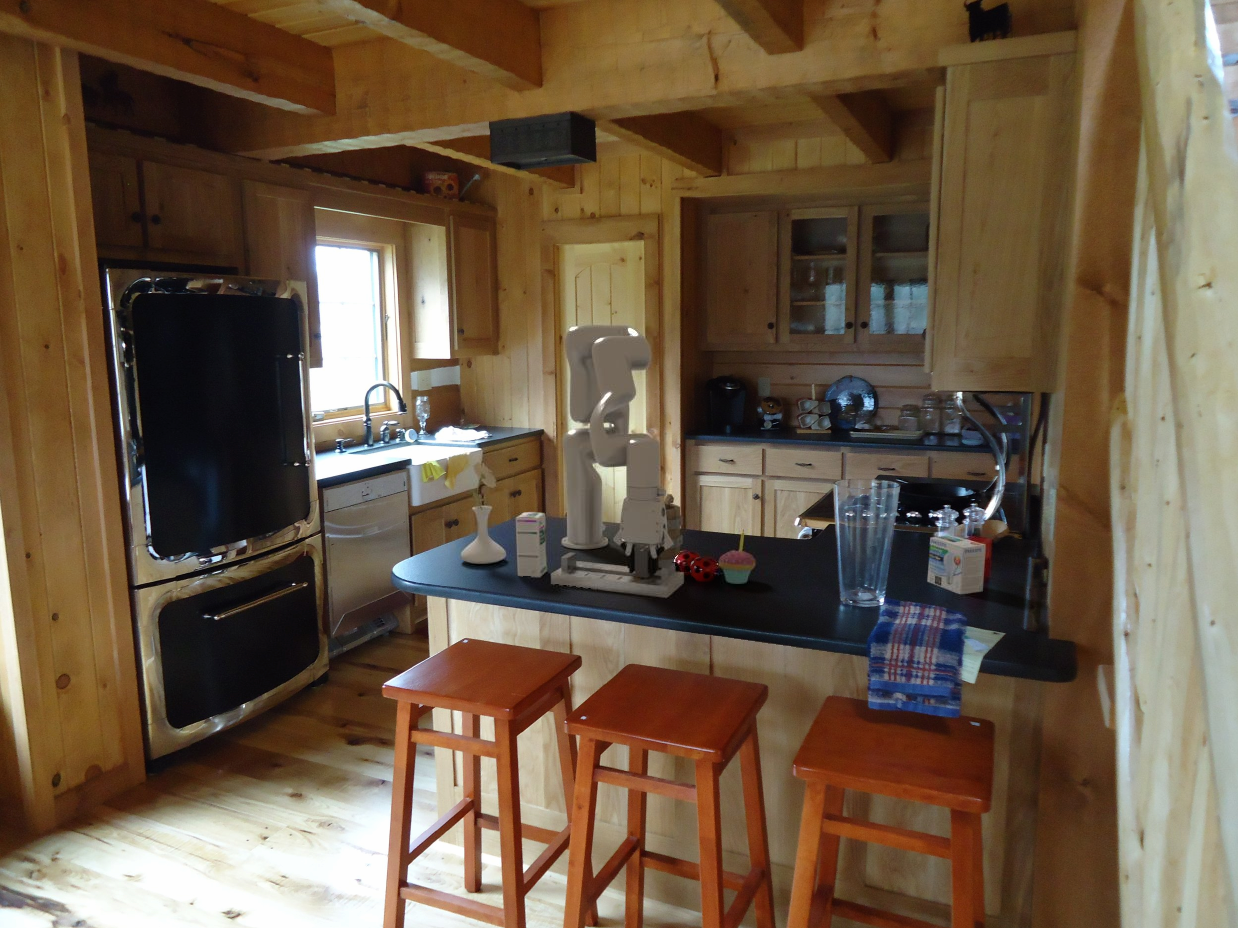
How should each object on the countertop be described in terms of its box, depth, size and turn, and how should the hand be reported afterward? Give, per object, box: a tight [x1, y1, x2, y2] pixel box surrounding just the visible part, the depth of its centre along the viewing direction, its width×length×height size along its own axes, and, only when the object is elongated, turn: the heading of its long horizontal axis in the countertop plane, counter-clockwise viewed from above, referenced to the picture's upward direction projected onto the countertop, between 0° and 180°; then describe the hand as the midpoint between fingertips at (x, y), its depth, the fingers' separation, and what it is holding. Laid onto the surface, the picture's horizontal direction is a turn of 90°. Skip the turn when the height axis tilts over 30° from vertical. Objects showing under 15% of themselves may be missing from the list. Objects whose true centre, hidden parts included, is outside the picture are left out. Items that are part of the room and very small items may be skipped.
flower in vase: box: [460, 461, 507, 565], centre depth 219 cm, size 13×11×25 cm
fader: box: [635, 546, 651, 578], centre depth 198 cm, size 4×3×6 cm
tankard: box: [636, 493, 684, 569], centre depth 223 cm, size 20×13×15 cm, turn 160°
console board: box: [550, 552, 685, 599], centre depth 201 cm, size 12×28×6 cm, turn 68°
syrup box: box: [515, 511, 548, 578], centre depth 208 cm, size 6×6×14 cm
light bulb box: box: [927, 534, 987, 595], centre depth 198 cm, size 11×7×11 cm, turn 23°
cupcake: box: [718, 529, 756, 585], centre depth 202 cm, size 9×8×12 cm
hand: (643, 571), depth 198 cm, fingers open, 4 cm apart
